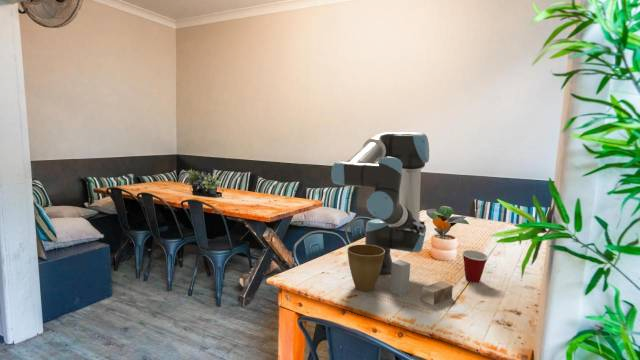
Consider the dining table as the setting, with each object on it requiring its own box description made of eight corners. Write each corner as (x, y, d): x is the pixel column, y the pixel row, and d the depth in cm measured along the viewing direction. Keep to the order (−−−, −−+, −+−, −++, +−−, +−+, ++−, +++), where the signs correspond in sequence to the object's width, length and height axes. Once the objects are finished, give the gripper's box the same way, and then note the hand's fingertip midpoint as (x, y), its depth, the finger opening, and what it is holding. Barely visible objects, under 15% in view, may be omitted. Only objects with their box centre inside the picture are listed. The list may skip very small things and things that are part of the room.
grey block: (400, 295, 141) (402, 265, 140) (390, 291, 145) (392, 262, 144) (408, 292, 144) (410, 263, 143) (398, 288, 148) (400, 259, 147)
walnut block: (433, 292, 133) (452, 285, 141) (422, 287, 137) (441, 280, 145) (432, 305, 134) (451, 297, 141) (421, 300, 138) (440, 292, 145)
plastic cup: (470, 286, 153) (472, 258, 152) (454, 276, 163) (456, 250, 162) (492, 284, 156) (494, 257, 155) (475, 275, 166) (477, 249, 165)
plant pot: (358, 278, 157) (360, 242, 156) (389, 287, 148) (391, 249, 146) (338, 288, 146) (339, 249, 144) (370, 299, 137) (372, 258, 135)
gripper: (376, 222, 121) (403, 236, 139) (412, 232, 113) (436, 246, 131) (383, 201, 123) (409, 218, 140) (419, 209, 114) (442, 226, 132)
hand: (422, 231), depth 136 cm, fingers closed
